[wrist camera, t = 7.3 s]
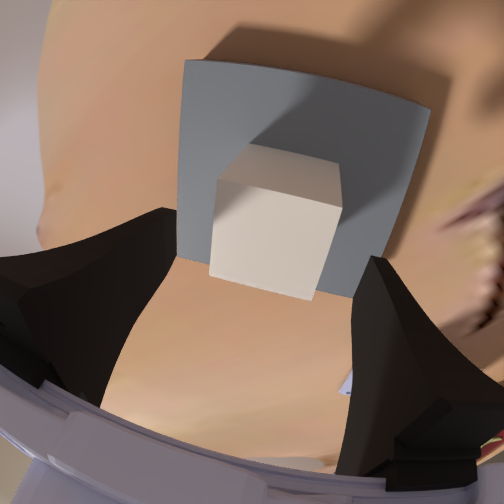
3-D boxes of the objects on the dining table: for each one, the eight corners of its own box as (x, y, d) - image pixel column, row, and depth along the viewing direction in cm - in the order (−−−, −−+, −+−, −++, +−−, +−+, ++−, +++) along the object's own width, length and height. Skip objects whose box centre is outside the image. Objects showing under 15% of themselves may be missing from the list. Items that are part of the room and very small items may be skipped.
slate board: (417, 102, 14) (431, 109, 12) (360, 275, 21) (361, 300, 19) (202, 59, 15) (184, 60, 13) (191, 236, 22) (177, 256, 20)
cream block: (338, 163, 15) (342, 207, 11) (317, 239, 17) (311, 301, 13) (248, 143, 15) (217, 179, 11) (238, 220, 18) (209, 275, 14)
